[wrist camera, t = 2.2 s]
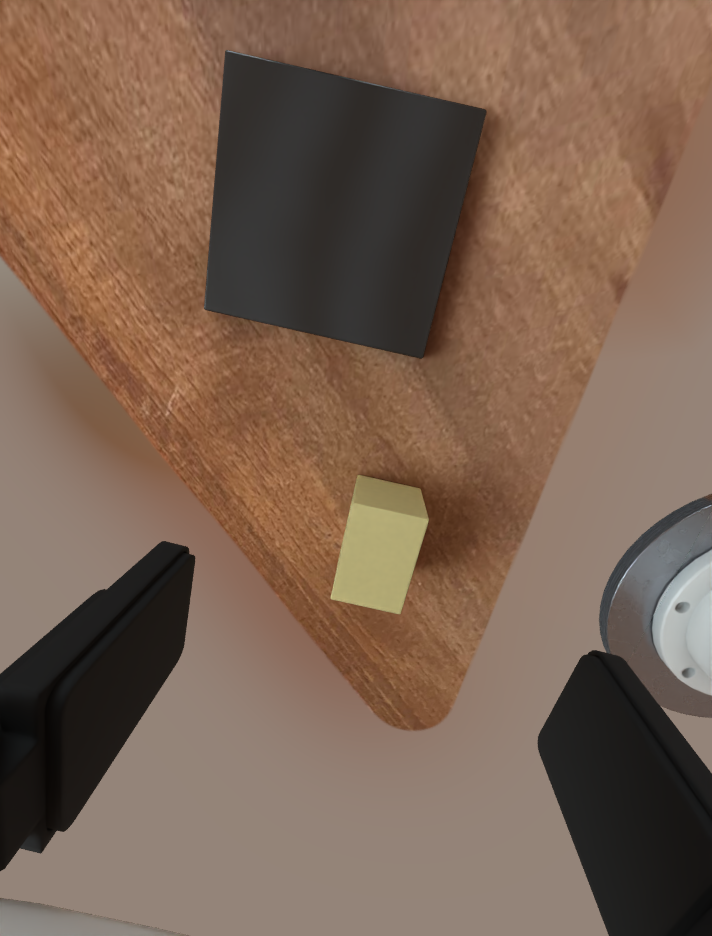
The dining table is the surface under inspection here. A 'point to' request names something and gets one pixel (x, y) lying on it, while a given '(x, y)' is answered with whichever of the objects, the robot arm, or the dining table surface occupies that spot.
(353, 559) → the butter
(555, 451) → the dining table surface
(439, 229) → the board
